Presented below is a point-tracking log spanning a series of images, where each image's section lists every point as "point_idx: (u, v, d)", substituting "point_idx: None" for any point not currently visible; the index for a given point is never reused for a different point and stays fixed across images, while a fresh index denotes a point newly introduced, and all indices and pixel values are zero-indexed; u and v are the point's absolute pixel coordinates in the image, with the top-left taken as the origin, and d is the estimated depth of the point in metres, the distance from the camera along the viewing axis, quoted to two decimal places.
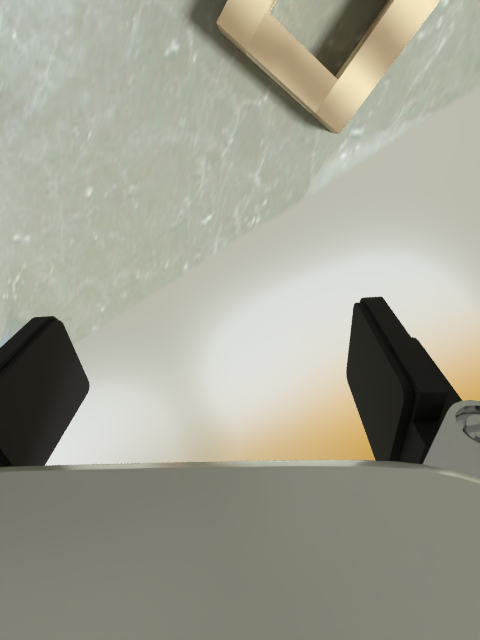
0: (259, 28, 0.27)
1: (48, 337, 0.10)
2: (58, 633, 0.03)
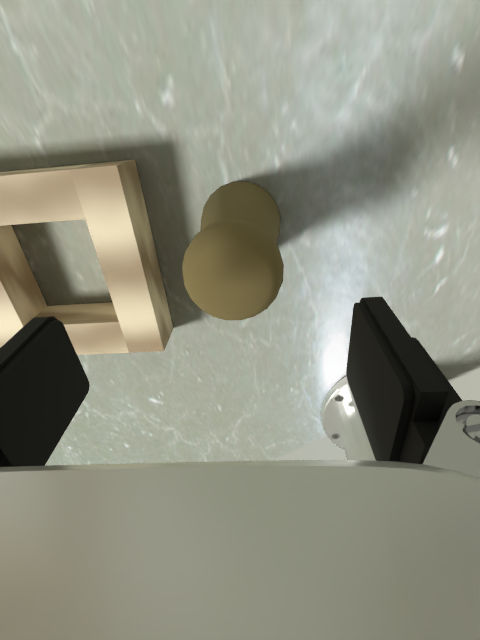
0: (76, 199, 0.21)
1: (48, 337, 0.10)
2: (58, 633, 0.03)
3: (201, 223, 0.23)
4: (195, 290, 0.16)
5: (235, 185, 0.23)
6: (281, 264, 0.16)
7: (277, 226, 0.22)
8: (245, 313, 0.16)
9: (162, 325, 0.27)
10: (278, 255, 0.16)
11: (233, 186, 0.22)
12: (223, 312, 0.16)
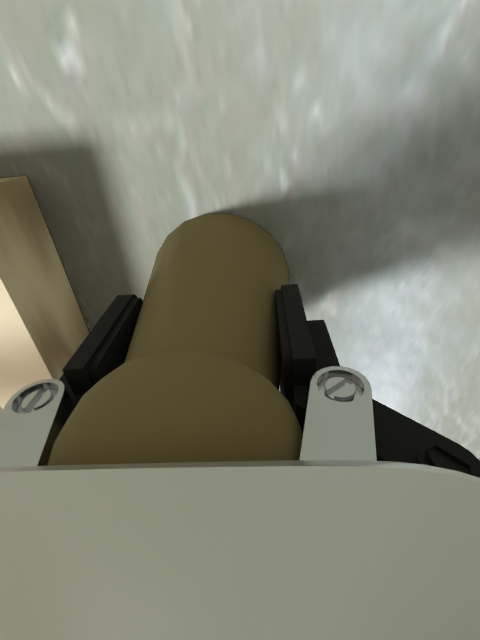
0: None
1: (135, 313, 0.10)
2: (58, 633, 0.03)
3: None
4: None
5: (208, 222, 0.12)
6: None
7: None
8: None
9: None
10: None
11: (204, 225, 0.12)
12: None
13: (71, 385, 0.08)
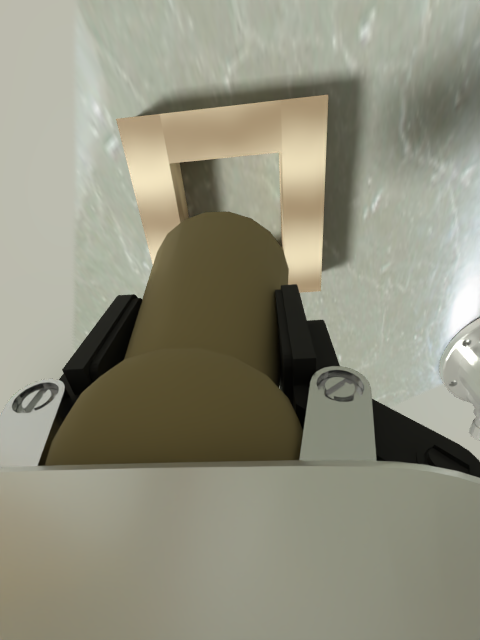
0: (279, 131, 0.22)
1: (135, 313, 0.10)
2: (58, 633, 0.03)
3: None
4: None
5: (208, 220, 0.12)
6: None
7: None
8: None
9: None
10: None
11: (204, 223, 0.12)
12: None
13: (71, 385, 0.08)
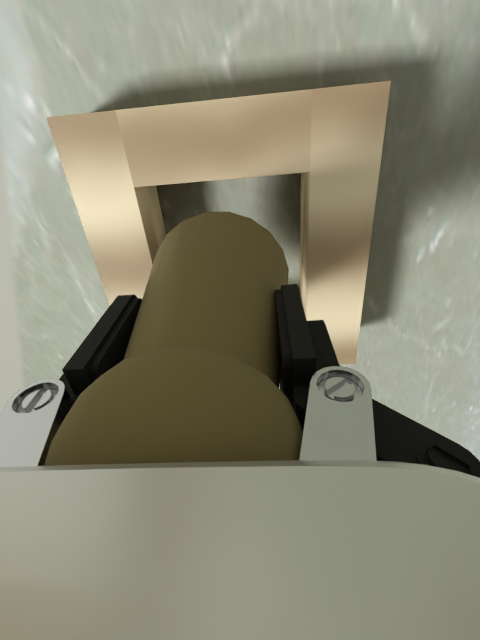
0: (306, 140, 0.14)
1: (135, 313, 0.10)
2: (58, 633, 0.03)
3: None
4: None
5: (207, 220, 0.12)
6: None
7: None
8: None
9: None
10: None
11: (203, 223, 0.12)
12: None
13: (71, 385, 0.08)
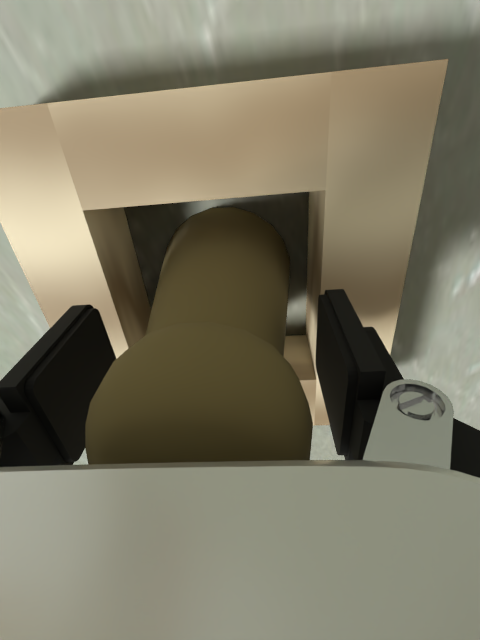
0: (321, 147, 0.10)
1: (87, 324, 0.10)
2: (58, 633, 0.03)
3: None
4: None
5: (213, 215, 0.13)
6: (309, 428, 0.07)
7: (286, 284, 0.13)
8: None
9: None
10: (302, 414, 0.07)
11: (210, 218, 0.13)
12: None
13: (5, 403, 0.07)
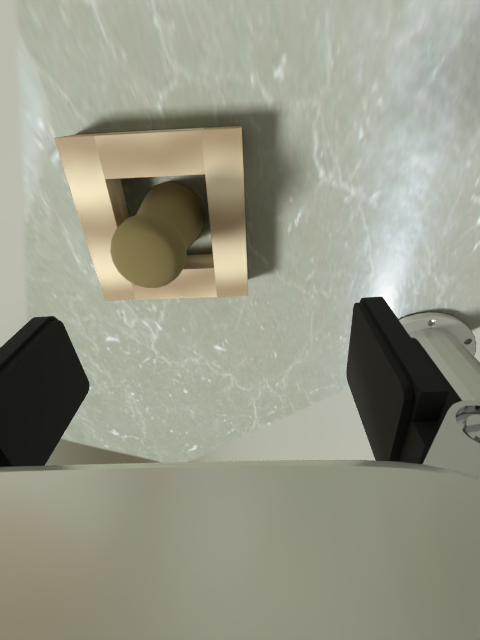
0: (201, 157, 0.25)
1: (48, 337, 0.10)
2: (58, 633, 0.03)
3: None
4: (119, 265, 0.22)
5: (164, 185, 0.29)
6: (181, 246, 0.22)
7: (196, 218, 0.28)
8: (157, 282, 0.23)
9: None
10: (178, 239, 0.22)
11: (162, 186, 0.29)
12: (141, 281, 0.23)
13: None
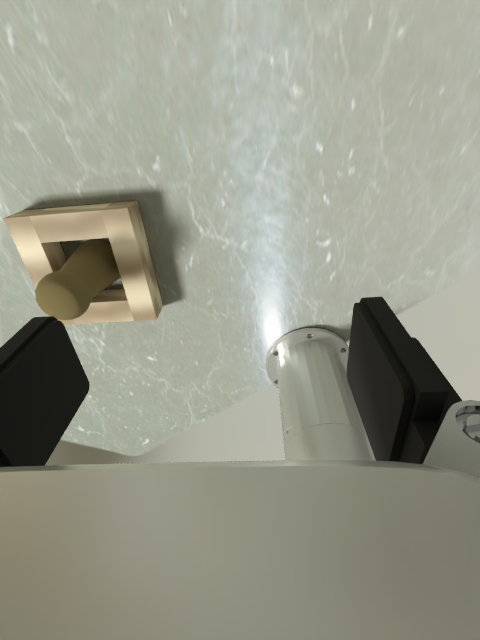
0: (103, 226, 0.36)
1: (48, 337, 0.10)
2: (58, 633, 0.03)
3: None
4: (41, 306, 0.33)
5: (87, 242, 0.40)
6: (82, 292, 0.33)
7: (110, 265, 0.39)
8: (68, 316, 0.34)
9: (155, 303, 0.42)
10: (79, 288, 0.33)
11: (86, 243, 0.40)
12: (57, 316, 0.34)
13: None
